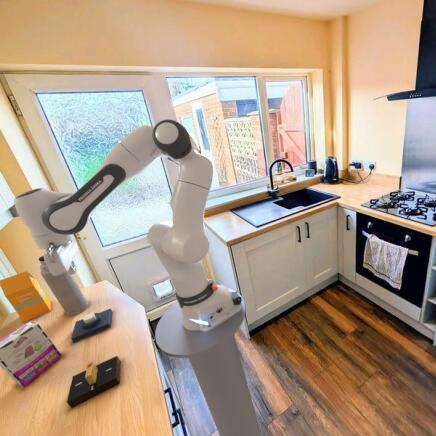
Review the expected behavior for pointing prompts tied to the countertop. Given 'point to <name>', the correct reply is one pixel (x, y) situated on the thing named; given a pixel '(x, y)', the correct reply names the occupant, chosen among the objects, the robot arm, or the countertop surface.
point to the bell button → (89, 318)
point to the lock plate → (104, 381)
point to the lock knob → (91, 373)
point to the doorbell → (92, 326)
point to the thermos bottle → (64, 290)
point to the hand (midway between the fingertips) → (73, 272)
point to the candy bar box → (27, 353)
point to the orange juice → (25, 295)
